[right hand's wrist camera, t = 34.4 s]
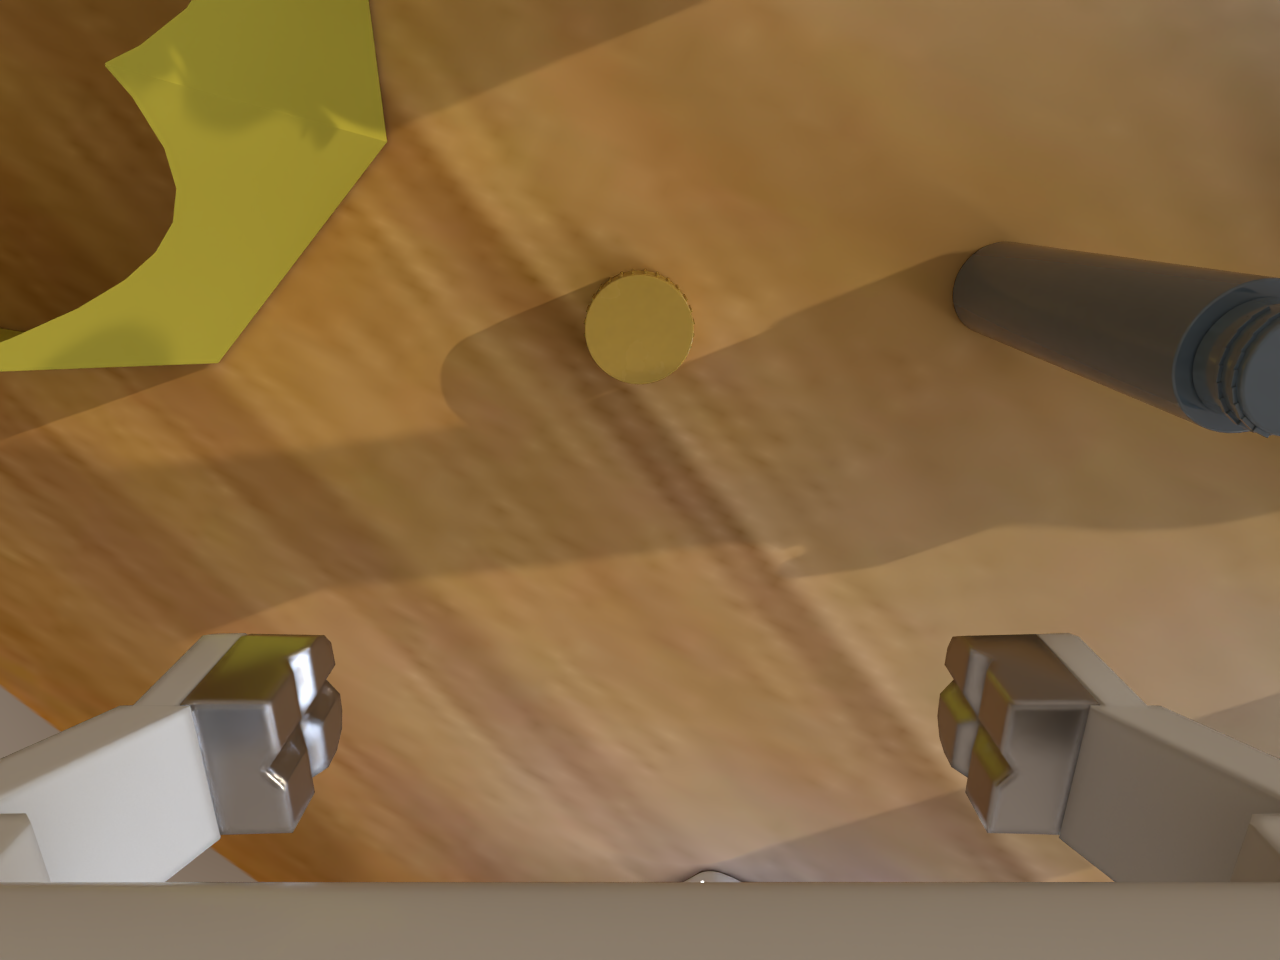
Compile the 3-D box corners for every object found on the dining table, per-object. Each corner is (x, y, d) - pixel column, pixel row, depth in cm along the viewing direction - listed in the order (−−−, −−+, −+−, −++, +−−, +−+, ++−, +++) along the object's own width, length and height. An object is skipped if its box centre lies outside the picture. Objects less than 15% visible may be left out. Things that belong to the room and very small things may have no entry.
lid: (569, 347, 39) (565, 356, 37) (613, 249, 37) (612, 253, 35) (663, 392, 39) (664, 403, 37) (710, 298, 38) (714, 304, 36)
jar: (984, 225, 37) (1300, 256, 19) (1063, 265, 37) (1439, 331, 20) (934, 312, 38) (1186, 415, 21) (1011, 349, 39) (1319, 480, 21)
